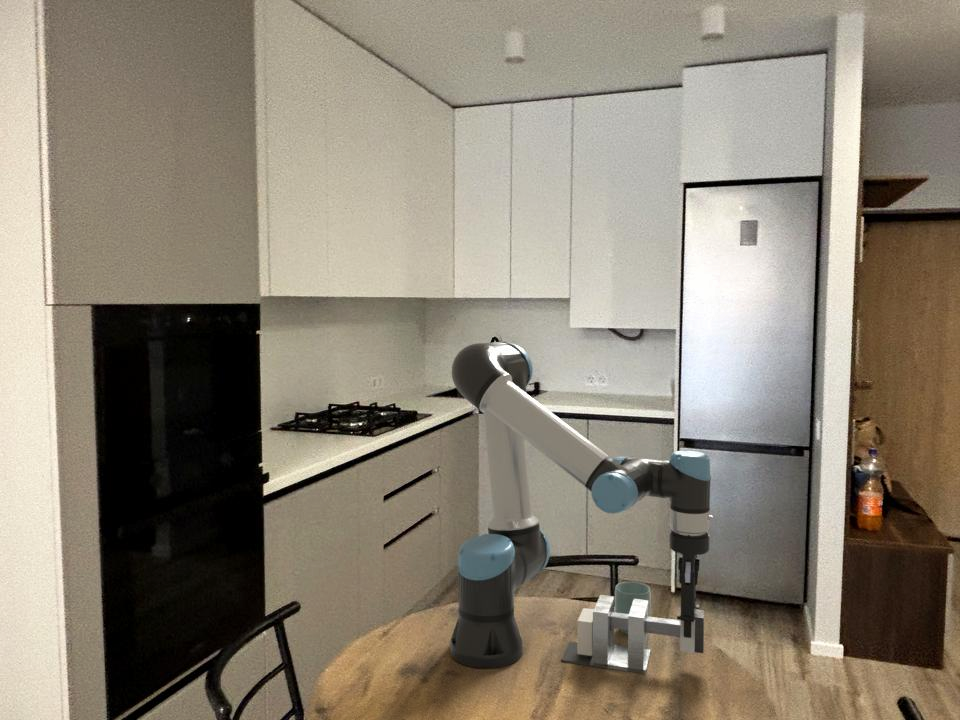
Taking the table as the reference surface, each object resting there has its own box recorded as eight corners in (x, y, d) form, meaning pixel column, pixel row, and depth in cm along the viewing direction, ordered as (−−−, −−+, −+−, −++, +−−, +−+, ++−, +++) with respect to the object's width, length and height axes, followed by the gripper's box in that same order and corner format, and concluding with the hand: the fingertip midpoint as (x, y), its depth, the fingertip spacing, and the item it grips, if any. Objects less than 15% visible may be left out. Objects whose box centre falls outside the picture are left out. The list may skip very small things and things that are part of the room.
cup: (650, 640, 158) (651, 595, 158) (614, 637, 160) (614, 592, 159) (649, 625, 166) (650, 582, 165) (615, 623, 168) (615, 580, 167)
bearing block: (590, 665, 147) (590, 611, 146) (597, 646, 156) (597, 594, 155) (645, 674, 143) (646, 618, 143) (650, 653, 152) (650, 600, 152)
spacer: (577, 653, 149) (577, 620, 148) (583, 639, 155) (583, 608, 155) (592, 655, 148) (592, 622, 148) (597, 641, 154) (597, 609, 154)
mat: (560, 661, 149) (560, 659, 149) (569, 642, 157) (569, 641, 157) (590, 665, 147) (590, 664, 147) (597, 646, 156) (597, 645, 156)
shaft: (595, 638, 149) (595, 605, 149) (598, 631, 153) (598, 598, 152) (703, 653, 142) (703, 618, 142) (703, 644, 146) (704, 610, 146)
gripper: (708, 545, 135) (706, 668, 136) (710, 520, 151) (708, 631, 152) (666, 541, 137) (665, 662, 138) (672, 517, 153) (671, 626, 155)
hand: (687, 646), depth 145 cm, fingers closed on shaft, 4 cm apart
